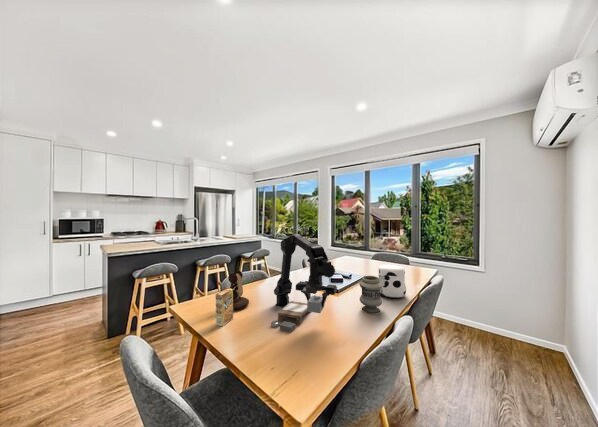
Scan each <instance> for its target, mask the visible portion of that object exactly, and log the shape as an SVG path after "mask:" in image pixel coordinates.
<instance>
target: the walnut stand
mask: <svg viewBox="0 0 598 427" xmlns="http://www.w3.org/2000/svg"><path fill="white" fill-rule="evenodd" d="M289 302H290V303H288V304H287V305H286V306H285V307H282V308H281V309H280V310H279V311H278V312H277V321H279V322H283V321H284V320H285V318H284V317H288V318H294V319H296V325H300V326H301V325H302V323H303V316H305V314H306V313H309V314H310V313H311V312H307V302H300V301H294V300H291V301H289Z"/></svg>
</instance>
